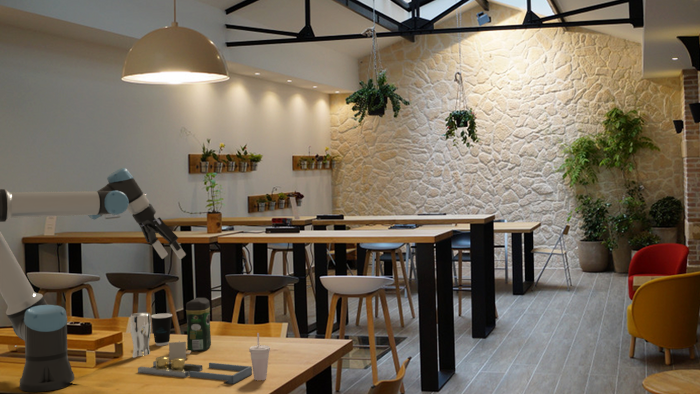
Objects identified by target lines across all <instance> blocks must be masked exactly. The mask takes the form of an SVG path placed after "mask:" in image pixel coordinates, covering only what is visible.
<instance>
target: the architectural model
mask: <svg viewBox="0 0 700 394" xmlns="http://www.w3.org/2000/svg"><path fill="white" fill-rule="evenodd" d="M168 347H169V348H168V350H169V351H168V357H169V361H171V360H172V359H174V358H184V361H185V360H187V355H189V354H191V352H192V351H191V350H188V349H187V342H186V341H180V340H179V341H175V342H169V344H168Z"/></svg>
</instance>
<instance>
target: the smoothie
mask: <svg viewBox="0 0 700 394" xmlns="http://www.w3.org/2000/svg"><path fill="white" fill-rule="evenodd" d="M256 337H257V338H256V339H257V341H256V343H257V345H252V346H250V347H249V348H248V349H249V353H250V360H251V367H252V375H253V380H254V381H256V380H257V381H258V380H262V381H265V379H266V380H267V378H268V365H269V358H270V356H269V355H270V351H271V346H269V345H264V344H261V345H260V333H259V332H257V333H256Z"/></svg>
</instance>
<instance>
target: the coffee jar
mask: <svg viewBox="0 0 700 394" xmlns="http://www.w3.org/2000/svg"><path fill="white" fill-rule="evenodd" d="M185 307H186V308H185V311H186V325H187V327H186V328H187V329H186V332H187V333H186V338H187V340H186V341H187V342H186V350H187V351H188V350H191V352H200V351H207V350H208V349H209V348H210V347H211V346H212V338H211V320H210V319H211V317H210V316H211V314H210V311H211V303H210V300H209V299H208V298H206V297H196V298H194V299H192V300H190V301H188V302H186V304H185Z"/></svg>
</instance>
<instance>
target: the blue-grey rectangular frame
mask: <svg viewBox="0 0 700 394" xmlns="http://www.w3.org/2000/svg"><path fill="white" fill-rule="evenodd" d="M208 368H209V369H217V370H218V369H219V370H227V371H235V372H236V373H234V374H225V373H223V374H222V373H214V372H205V371H204V372H203V371H199V372H195V371H190V376H189V377H190V378H199V379H210V380H217V381H219V380H220V381H223V384H228V385H235V384H236V383H239V382H240V381H242V380H244V379H246V378H248V377H249V376H252V375H253V367H252V365H251V366H249V365H239V364H229V363H227V364H226V363H217V362H208ZM237 371H238V372H237Z"/></svg>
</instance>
